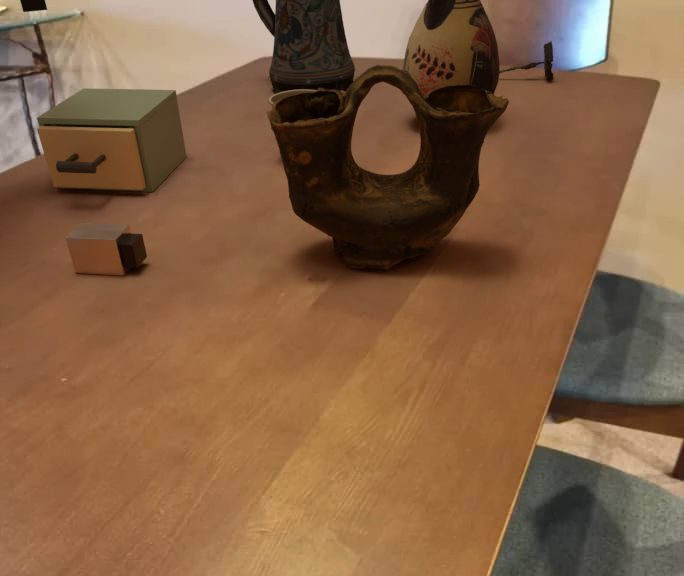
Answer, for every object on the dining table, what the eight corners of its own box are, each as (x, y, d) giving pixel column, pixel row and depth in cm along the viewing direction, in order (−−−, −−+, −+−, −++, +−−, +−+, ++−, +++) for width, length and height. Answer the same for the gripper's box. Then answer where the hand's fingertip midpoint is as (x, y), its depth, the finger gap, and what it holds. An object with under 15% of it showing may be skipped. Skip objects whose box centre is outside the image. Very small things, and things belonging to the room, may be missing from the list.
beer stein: (354, 99, 134) (351, -67, 118) (250, 101, 135) (233, -63, 118) (356, 76, 146) (354, -77, 130) (261, 78, 147) (247, -74, 131)
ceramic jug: (448, 105, 130) (461, -106, 110) (512, 125, 120) (540, -102, 101) (374, 125, 122) (375, -98, 102) (438, 148, 113) (452, -93, 93)
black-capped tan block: (75, 273, 84) (64, 237, 81) (90, 257, 87) (80, 222, 84) (137, 276, 83) (129, 240, 80) (150, 261, 85) (142, 225, 83)
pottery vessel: (484, 232, 89) (504, 52, 76) (496, 273, 81) (521, 79, 68) (282, 235, 90) (267, 57, 77) (273, 276, 82) (255, 84, 69)
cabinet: (152, 192, 102) (138, 120, 96) (56, 188, 104) (36, 117, 98) (186, 156, 113) (175, 89, 106) (98, 154, 115) (83, 88, 108)
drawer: (129, 204, 96) (116, 143, 91) (36, 200, 98) (18, 140, 93) (175, 156, 110) (166, 101, 105) (93, 154, 112) (80, 100, 107)
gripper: (9, -245, 68) (71, 15, 82) (7, -228, 86) (58, -16, 100) (-77, -245, 66) (1, 22, 80) (-61, -227, 84) (1, -11, 98)
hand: (33, 1), depth 90 cm, fingers open, 13 cm apart
